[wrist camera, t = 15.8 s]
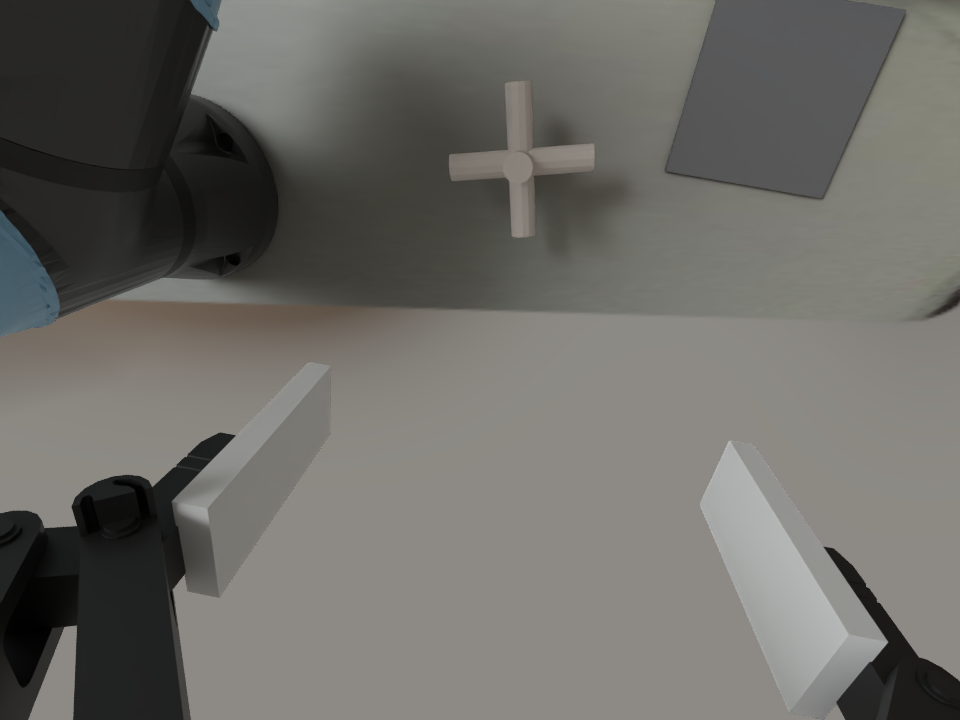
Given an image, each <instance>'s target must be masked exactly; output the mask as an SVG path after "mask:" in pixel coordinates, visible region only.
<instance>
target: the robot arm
mask: <svg viewBox="0 0 960 720" xmlns="http://www.w3.org/2000/svg"><path fill="white" fill-rule="evenodd" d="M220 4H221V0H0V337H2V336H5V335H8V334H12V333H15V332H19V331H22V330H26V329H29V328H40V327H44V326H47V325H49V324H51V323H53V321H56V320H55V319H57V318H60V317H62V316H65V315H68V314H70V313H73V312H75V311H78V310H80V309H83V308H85V307H88V306H90V305H93V304H95V303H98V302H101V301H103V300H106V299H108V298H111V297H114V296H116V295H119V294H121V293H124V292H127V291H129V290H132V289H134V288H137V287H140V286H142V285H145V284H147V283H150V282H153V281H155V280H157V279H160V278H181V279H214V278H220V277H223V276H227V275H229V274H232V273H234V272H236V271H238V270H241V269H243V268H245V267H247V266H249V265H250V264H252V263H253V262H254V261H256V260H257V259H258V258H259V257H260V256H261V255H262V254H263V252H264V251H265V250H266V248H267V247H268V245H269V243H270V241H271V239H272V236H273V234H274V231H275V227H276V222H277V213H278V202H277V192H276V187H275V182H274V179H273V175H272V172H271V170H270V167H269V165H268V162H267V160H266V158H265V156H264V154H263V152H262V151H261V149H260V147H259V146H258V144H257V143H256V141H255V140H254V138H253V137H252V136H251V135H250V133H249V132H248V131H247V130H246V129H245V128H244V126H243V125H242V124H241V123H240V122H239V121H238V120H236V119H235V118H234V117H233V116H232V115H231V114H229V113H228V112H227V111H225V110H224V109H222V108H221V107H219V106H218V105H216V104H214V103H212V102H210V101H208V100H206V99H204V98H201V97H199V96H195V95H192V94H191V91H192V88H193V86H194V83H195V80H196V77H197V74H198V71H199V69H200V66H201V63H202V60H203V57H204V54H205V51H206V49H207V46H208V43H209V40H210V37H211V34H212V32H213V30H214V31H216V32H217V30H218V27H219V20H218V18H217V14H218V11H219V7H220ZM330 405H331V366H327V365H322V364H317V363H311V362H308V363H307V364H306V365H305V366H304V367H303V368H302V369H301V370H300V371H299V372H298V373H297V374H296V375H295V376H294V377H293V378H292V379H291V380H290V381H289V382H288V383H287V384H286V385H285V386H284V387H283V388H282V389H281V390H280V392H279V393H277V395H276V396H275V397H274V398H273V399H272V400H271V401H270V402H269V403H268V404H267V405H266V406H265V407H264V408H263V409H262V410H261V411H260V412H259V413H258V414H257V415H256V416H255V417H254V418H253V419H252V420H251V421H250V422H249V423H248V424H247V425H246V426H245V427H244V428H243V429H242V430H241V431H240V432H239V433H238V434H237V435H231V434H225V433H218V434H216V435H214V436H212V437H210V438H208V439H206V440H204V441H202V442H201V443H199V445H197V446H196V447H195V448H194V449H193V450H192V451H191V452H190V453H189V454H188V456H187V457H185V458H183V459H182V460H181V461H180V462H179V463H178V464H177V466H176V468H175V467H174V468H173V469H172V470H171V471H169V472H168V473H167V474H166V475H165V476H164V477H163V478H162V479H161V480H160V481H159V482H158V483H157V484H155V485H154V486H153V487H152V486H151V484H150V482H149V481H148V480H147V479H145V478H142V477H140V476H133V475H123V476H114V477H110V478H108V479H104V480H101V481H98V482H96V483H94V484H93V485H91V486H89V487H87V488H85V489H84V490H83V491H82V492H81V493H80V494H79V495H78V496H76V497H75V499H74V502H73V505H72V510H73V513H74V516H75V520H76V523H77V526H73V527H57V528H44V526H43V523H42V520H41V519H40V518H39V516H38V515H37V514H35V513H32V512H29V511H10V512H5V513H0V720H28V718H29V716H30V713H31V711H32V708H33V705H34V703H35V700H36V698H37V695H38V693H39V690H40V688H41V685H42V683H43V680H44V677H45V675H46V672H47V670H48V667H49V665H50V662H51V659H52V657H53V655H54V652H55V649H56V647H57V644H58V642H59V639H60V636H61V634H62V632H63V629H64V627H67V626H76V625H77V643H76V666H75V691H74V717H73V720H191V718H190V711H189V704H188V696H187V689H186V681H185V674H184V667H183V659H182V652H181V645H180V637H179V630H178V623H177V616H176V608H175V601H174V595H173V588H174V587H175V586H176V585H177V583H178V582H179V581H180V579H181V578H182V577H183V576H184V574H185V579H186V585H187V591H189V592H194V593H199V594H204V595H209V596H213V597H218V598H219V597H220V596H221V595H222V593H223V592H224V590H225V589H226V587H227V586H228V584H229V583H230V582H231V580H232V579H233V577H234V576H235V574H236V573H237V571H238V570H239V568H240V567H241V565H242V564H243V562H244V561H245V559H246V558H247V556H248V555H249V554H250V552H251V551H252V549H253V547H254V546H255V545H256V543H257V542H258V540H259V539H260V537H261V536H262V534H263V533H264V531H265V530H266V528H267V527H268V525H269V524H270V523H271V521H272V520H273V518H274V517H275V515H276V514H277V512H278V511H279V509H280V508H281V506H282V505H283V503H284V502H285V500H286V499H287V497H288V496H289V494H290V493H291V492H292V490H293V489H294V487H295V486H296V484H297V483H298V481H299V480H300V478H301V477H302V475H303V474H304V472H305V471H306V469H307V468H308V466H309V465H310V463H311V462H312V460H313V459H314V458H315V456H316V455H317V453H318V452H319V450H320V449H321V447H322V446H323V444H324V443H325V441H326V440H327V438H328V437H329V435H330V408H331V406H330ZM700 507H701V509H702V511H703V514H704V516H705V519H706V521H707V523H708V526H709V528H710V530H711V533H712V535H713V537H714V540H715V542H716V544H717V546H718V549H719V551H720V554H721V556H722V558H723V561H724V563H725V565H726V568H727V570H728V572H729V574H730V577H731V579H732V581H733V584H734V586H735V588H736V591H737V593H738V595H739V598H740V600H741V602H742V605H743V607H744V609H745V612H746V614H747V616H748V619H749V621H750V623H751V626H752V628H753V630H754V632H755V635H756V637H757V640H758V642H759V644H760V647H761V649H762V651H763V654H764V656H765V658H766V661H767V663H768V665H769V668H770V670H771V672H772V674H773V677H774V679H775V682H776V684H777V686H778V688H779V691H780V693H781V696H782V698H783V700H784V702H785V705H786V707H787V709H788V712H789V713H792V714H797V715H802V716H807V717H812V718H817V719H822V720H824V719H825V718H826V716H827V715H828V714H829V713H830V711H831V710H832V709H833V708H834V707H835V705H836V704H837V705H838V706H839V708H840V710H841V712H842V714H843V716H844V718H845V720H960V681H959V680H958V679H956V678H955V677H954V676H952V675H951V674H950V673H948V672H947V671H946V670H944V669H943V668H942V667H940V666H938V665H936V664H934V663H932V662H930V661H928V660H926V659H923V658H919V657H918V656H917V654H916V653H915V651H914V650H913V649H912V647H911V646H910V645H909V643H908V642H907V640H906V639H905V638H904V636H903V635H902V633H901V632H900V631H899V629H898V628H897V626H896V625H895V624H894V622H893V621H892V619H891V618H890V617H889V615H888V614H887V612H886V611H885V610H884V608H883V607H882V605H881V604H880V603H877V599H876V597H875V596H874V595H873V593H872V592H871V590H870V589H869V588H867V587H866V583H865V582H864V580H863V579H862V578H861V576H860V575H859V574H858V572H857V571H856V570H855V568H854V567H853V565H851V564H850V563H849V562H848V561H847V560H846V559H845V558H844V557H842V556H841V555H840V554H839V553H838V552H837V551H836V550H835V549H833V548H828V547H823V546H822V544H821V543H820V541H819V540H818V539H817V537H816V536H815V534H814V533H813V531H812V530H811V528H810V527H809V525H808V524H807V522H806V521H805V519H804V518H803V516H802V515H801V514H800V512H799V511H798V509H797V508H796V506H795V505H794V503H793V502H792V500H791V499H790V498H789V496H788V495H787V493H786V492H785V490H784V489H783V487H782V486H781V484H780V483H779V481H778V480H777V478H776V477H775V475H774V474H773V473H772V471H771V470H770V468H769V467H768V465H767V464H766V462H765V461H764V459H763V458H762V456H761V455H760V453H759V452H758V451H757V449H756V448H755V446H754V445H753V444H747V443H742V442H737V441H732V440H729V442H728V445H727V447H726V449H725V451H724V453H723V455H722V457H721V460H720V462H719V464H718V466H717V468H716V470H715V472H714V475H713V477H712V479H711V481H710V483H709V485H708V488H707V490H706V492H705V494H704V496H703V498H702V500H701V503H700Z"/></svg>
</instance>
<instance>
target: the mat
mask: <svg viewBox="0 0 960 720" xmlns="http://www.w3.org/2000/svg"><path fill="white" fill-rule="evenodd" d="M905 12H906V10H904V9H897V8H891V7H885V6H879V5H872V4H866V3H860V2H854V1H847V0H716V3H715V6H714V9H713V13H712V16H711V19H710V23H709V26H708V29H707V32H706V36H705V39H704V42H703V46H702V49H701V52H700V55H699V59H698V62H697V65H696V69H695V72H694V75H693V79H692V82H691V85H690V88H689V92H688V95H687V98H686V102H685V105H684V108H683V112H682V115H681V118H680V121H679V125H678V128H677V131H676V135H675V138H674V141H673V144H672V148H671V151H670V154H669V158H668V161H667V164H666V168H665V171H667V172H673V173H679V174H685V175H690V176H696V177H702V178H707V179H713V180H719V181H724V182H730V183H736V184H742V185H747V186H753V187H759V188H764V189H770V190H776V191H781V192H787V193H793V194H799V195H804V196H810V197H816V198H821V199H822V197H823V195H824V193H825V191H826V188H827V186H828V184H829V182H830V179H831V177H832V175H833V173H834V170H835V168H836V166H837V164H838V162H839V159H840V157H841V155H842V153H843V150H844V148H845V146H846V144H847V141H848V139H849V137H850V135H851V133H852V130H853V128H854V126H855V124H856V121H857V119H858V117H859V115H860V112H861V110H862V108H863V106H864V104H865V101H866V99H867V97H868V95H869V92H870V90H871V88H872V86H873V83H874V81H875V79H876V77H877V75H878V72H879V70H880V68H881V66H882V63H883V61H884V59H885V57H886V54H887V52H888V50H889V48H890V46H891V43H892V41H893V39H894V37H895V34H896V32H897V30H898V28H899V25H900V23H901V21H902V19H903V17H904V14H905Z"/></svg>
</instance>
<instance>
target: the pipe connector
mask: <svg viewBox="0 0 960 720" xmlns="http://www.w3.org/2000/svg"><path fill="white" fill-rule="evenodd" d="M505 106H506V127H507V149H508V150H498V151H485V152H473V153H460V154H450V155H449V172H450V177H451V180H452V181H465V180H479V179H494V178H507V180H509V193H510V214H511V236H512V237H516V238H525V237H532V236H535V235H536V222H535V183H534V176H537V175H551V174H566V173H580V172H593V171H594V161H595V149H594V143H589V144H576V145H563V146H550V147H537V148H534V143H533V104H532V81H515V82H508V83H505Z"/></svg>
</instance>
